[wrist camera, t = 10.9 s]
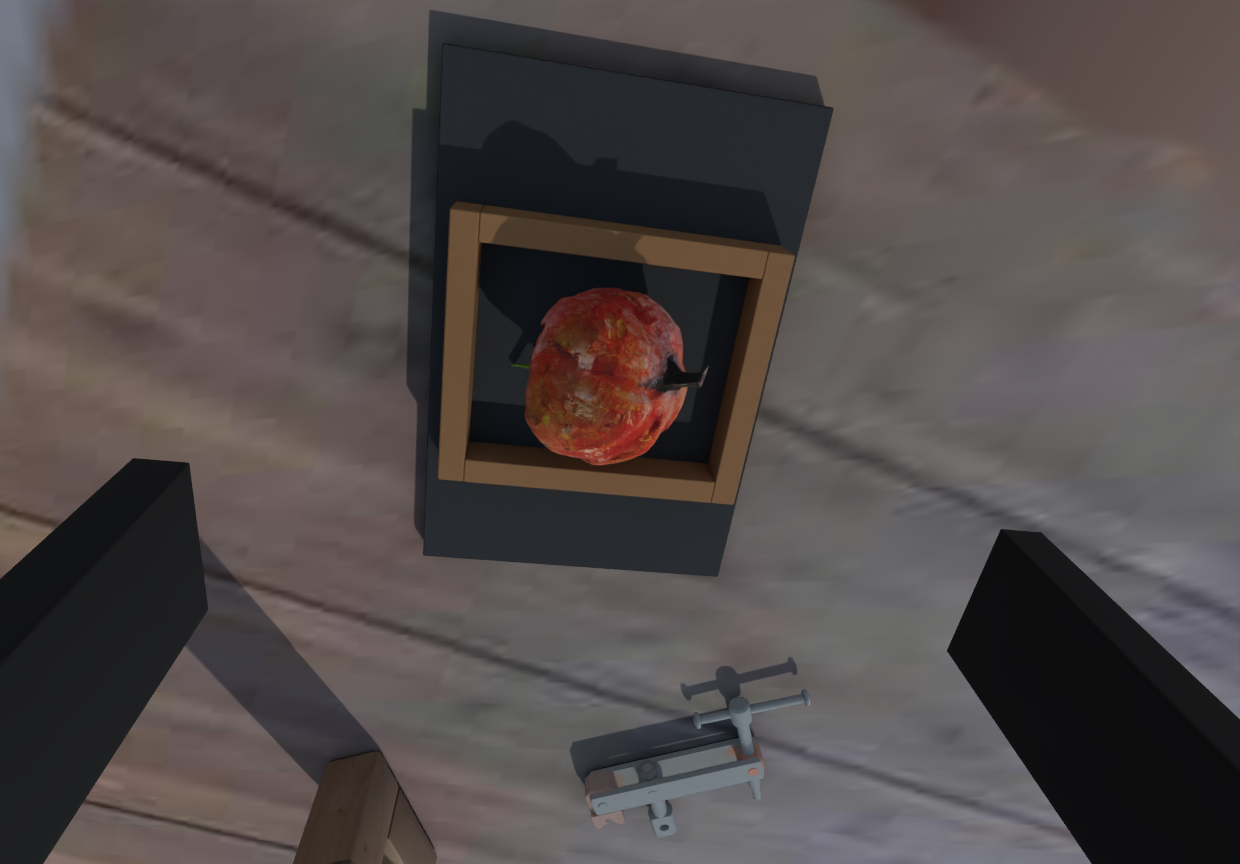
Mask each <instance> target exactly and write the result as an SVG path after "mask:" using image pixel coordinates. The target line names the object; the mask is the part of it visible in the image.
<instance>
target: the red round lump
mask: <svg viewBox="0 0 1240 864" xmlns="http://www.w3.org/2000/svg"><path fill="white" fill-rule="evenodd" d="M541 326H542V328H543V331H542V332H541V334H540V336H539V337H538V339H537V342H536V346H535V348H534V350H533V352H532V357H531V361H530V364H516V363H514V364H511V366H515V367H523V368H527V369H530V371H529V379H528V381H527V384H528V385H527V388H526V394H525V400H526V409H525V413H524V415H525V419H526V421H527V423H528V425H529V426H530V428H531V430H532V431H533V433H534V435H535V436H537V438H538V439H539V440H540V442H541V443H542V444H544V445H545V446H546V447H547V448H548V449H550V450H551V451H552V452H555V453H558V454H561V455H566V456H570V457H576V458H581V459H582V460H584V461H585V462H588V463H590V464H592V465H606V464H615V463H619V462H622V461H626V460H630V459H633V458H635V457H637V456H640V455H642V454H644V453H645V452H647V451H648V450H649V449H650V448H651V447H652V446H653V444H654V443H655V441H656V440H657V438H658V436H659V435H660V433H662V432H663V431H665V430H666V429H668V428H669V426H670V425H671V424H672V422H673V421H674V420H675V419H676V417H677V415H678V413H679V411H680V409H681V407H682V405H683V402H684V399H685V396H686V392H687V387H697V388H700V387H701V385H702V384H703V381H704V378H705V376H706V373H707V370H708V367H709V366H707V367H706V368H705V369H704V370H703V371H702V372H696V373H687V372H685V368H684V366H683V363H682V360H683V341H682V336H681V331H680V328H679V326H678V325H677V324H675V322H674V321H673V319H672V318H671V316H670V315H669V314H668V312H666V311H665V310H664V309H663V308H662V307H661V306H660V305H659V304H658V303H657V302H655V301H654V300H653V299H651V298H650V297H648V296H647V295H645V294H641V293H638V292H631V291H625V290H621V289H619V288H594V289H591V290H588V291H585V292H582V293H578V294H577V295H576V296H571V297H564V298H561V299H560V300H559V301H558V302H557V303H556V304H555V305H553V306H552V307H551V308H550V309H549V311H548V312H547V313H546V315H545V317H544V318H543V319H542V322H541Z"/></svg>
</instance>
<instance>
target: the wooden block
mask: <svg viewBox="0 0 1240 864" xmlns="http://www.w3.org/2000/svg"><path fill="white" fill-rule="evenodd" d="M436 857H437V856H436V853H435V851H434V849H433V847H432V846H431V844H430V842H429V840H428V838H427V837H426V835H425V833H424V831H423V829H422V828H421V826H420V824H419V822H418V820H417V819H416V817H415V815H414V813H413V811H412V810H411V808H410V806H409V804H408V802H407V801H406V799H405V797H404V795H403V793H402V792H401V790H398V784H397V782H396V780H395V778H394V776H393V775H392V773H391V771H390V769H389V767H388V766H387V764H386V762H385V760H384V758H383V757H382V755H381V753H380V752H377V751H374V752H370V753H366V754H362V755H357V756H353V757H349V758H345V759H340V760H336V761H332V762H330V763H328V764H327V765H326V767H325V770H324V773H323V776H322V779H321V782H320V785H319V788H318V791H317V794H316V797H315V800H314V803H313V805H312V808H311V811H310V814H309V817H308V820H307V823H306V826H305V829H304V832H303V835H302V838H301V841H300V844H299V847H298V850H297V853H296V856H295V859H294V862H293V864H436Z"/></svg>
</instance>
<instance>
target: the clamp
mask: <svg viewBox="0 0 1240 864" xmlns="http://www.w3.org/2000/svg"><path fill="white" fill-rule="evenodd" d="M801 693H802V694H799V695H794V696H789V697H785V698H780V699H775V700H770V701H766V702H761V703H756V704H752V705H749V702H748V700H747V699H745V698H743V697H736V698H733V699H732V700H731V701H730V702H729V704H728V708H729V709H728V710H723V711H719V712H714V713H709V714H704V715H700V716H699V714H698V713H697V712H695V713H694V718H693V720H694V725H696V728H697V729H700V728H701V724H706V723H711V722H715V721H720V720H725V719H729V718H731V722H732V724H733V725H734V726H736V727H737V730H738V735H739V738H736V739H731V740H727V741H722V742H718V743H713V744H709V745H705V746H700V747H696V748H691V749H687V750H683V751H678V752H674V753H669V754H665V755H661V756H656V757H652V758H647V759H643V760H638V761H634V762H630V763H625V764H621V765H616V766H612V767H608V768H603V769H599V770H594V771H591V774H589V775H588V776H587V777H586V778H585V796H586V800H587V802H588V805H589V808H590V811H591V817H592V820H593V823H594V826H595V828H598V829H602V827H603V826H604V825H605V824H606V823H607V819H611V821H612V822H614V823H617V824H620V825H621V824H622V823H623V822H624V821H625V820H624V809H629V808H633V807H638V806H642V805H646V804H651V807H650V808H649V811H648V814H649V818H650V821H651V824H652V827H653V831H654V834H655V835H656V837H667V836H670V835H673V834H675V833H676V832H677V823H676V820H675V816H674V813H673V809H672V806H671V804H670V803H665V800H669V799H673V798H678V797H682V796H686V795H691V794H695V793H700V792H704V791H709V790H713V789H717V788H722V787H726V786H731V785H735V784H740V783H744V782H748V783H749V786H750V787H751V789H752V793H753V798H754V799H755V800H760V799H761V793H760V784H761V783H760V779H762V778H764V766H765V764H764V761H763V757H762V754H761V751H760V748H759V745H758V744H757V743H756V742H755V740H754V737H753V736H752V735H751V732H750V727H749V725H750V724H751V722H752V715H751V714H753V713H758V712H763V711H767V710H772V709H777V708H782V707H786V706H791V705H796V704H800V703H804V704H805V705H806V706H809V705H810V696H809V694H808V692H807V691H806V690H805V689H803V690H802V692H801ZM736 760H737V761H736ZM732 761H736V762H732ZM728 762H732V763H728ZM723 763H727V764H723ZM719 764H723V765H719ZM714 765H719V766H714ZM710 766H714V767H710ZM705 767H710V768H705ZM701 768H705V769H701ZM697 769H701V770H697ZM692 770H696V771H692ZM688 771H692V772H688ZM683 772H688V773H683ZM679 773H683V774H679ZM674 774H679V775H674ZM670 775H674V776H670ZM666 776H670V777H666ZM663 777H665V778H663ZM635 783H639V784H635ZM630 784H634V785H630ZM626 785H630V786H626ZM621 786H626V787H621ZM620 787H621V788H620Z"/></svg>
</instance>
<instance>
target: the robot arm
mask: <svg viewBox="0 0 1240 864" xmlns="http://www.w3.org/2000/svg"><path fill="white" fill-rule="evenodd" d="M207 610H208V604H207V596H206V588H205V581H204V573H203V566H202V558H201V550H200V543H199V535H198V527H197V520H196V512H195V504H194V497H193V489H192V481H191V474H190V466H189V463H185V462H173V461H161V460H149V459H136V458H133V459H132V460H131V461H130V462H129V463H127V464H126V465H125V466H124V467H123V468H122V469H121V470H120V471H119V472H118V473H116V474H115V475H114V476H113V477H112V478H111V479H110V480H109V481H108V482H107V483H105V484H104V485H103V486H102V487H101V488H100V489H99V490H98V491H97V492H96V493H94V494H93V495H92V496H91V497H90V498H89V499H88V500H87V501H86V502H85V503H83V504H82V505H81V506H80V507H79V508H78V509H77V510H76V511H75V512H74V513H72V514H71V515H70V516H69V517H68V518H67V519H66V520H65V521H64V522H63V523H61V524H60V525H59V526H58V527H57V528H56V529H55V530H54V531H53V532H52V533H50V534H49V535H48V536H47V537H46V538H45V539H44V540H43V541H42V542H41V543H39V544H38V545H37V546H36V547H35V548H34V549H33V550H32V551H31V552H30V553H28V554H27V555H26V556H25V557H24V558H23V559H22V560H21V561H20V562H19V563H17V564H16V565H15V566H14V567H13V568H12V569H11V570H10V571H9V572H8V573H6V574H5V575H4V576H3V577H2V578H1V579H0V864H43V863H44V862H45V860H46V859H47V857H48V855H49V854H50V852H51V851H52V849H53V848H54V846H55V845H56V843H57V842H58V840H59V838H60V837H61V835H62V834H63V832H64V831H65V829H66V828H67V826H68V825H69V823H70V822H71V820H72V818H73V817H74V815H75V814H76V812H77V811H78V809H79V808H80V806H81V805H82V803H83V801H84V800H85V798H86V797H87V795H88V794H89V792H90V791H91V789H92V788H93V786H94V785H95V783H96V781H97V780H98V778H99V777H100V775H101V774H102V772H103V771H104V769H105V768H106V766H107V765H108V763H109V761H110V760H111V758H112V757H113V755H114V754H115V752H116V751H117V749H118V748H119V746H120V744H121V743H122V741H123V740H124V738H125V737H126V735H127V734H128V732H129V731H130V729H131V728H132V726H133V724H134V723H135V721H136V720H137V718H138V717H139V715H140V714H141V712H142V711H143V709H144V707H145V706H146V704H147V703H148V701H149V700H150V698H151V697H152V695H153V694H154V692H155V691H156V689H157V687H158V686H159V684H160V683H161V681H162V680H163V678H164V677H165V675H166V674H167V672H168V670H169V669H170V667H171V666H172V664H173V663H174V661H175V660H176V658H177V657H178V655H179V654H180V652H181V650H182V649H183V647H184V646H185V644H186V643H187V641H188V640H189V638H190V637H191V635H192V634H193V632H194V630H195V629H196V627H197V626H198V624H199V623H200V621H201V620H202V618H203V617H204V615H205V613H206V612H207ZM947 652H948V653H949V655H950V656H951V658H952V659H953V660H954V662H955V663H956V665H957V666H958V668H959V669H960V671H961V672H962V674H963V675H964V677H965V678H966V680H967V681H968V683H969V684H970V685H971V687H972V688H973V690H974V691H975V693H976V694H977V696H978V697H979V699H980V700H981V702H982V703H983V705H984V706H985V708H986V709H987V710H988V712H989V713H990V715H991V716H992V718H993V719H994V721H995V722H996V724H997V725H998V727H999V728H1000V730H1001V731H1002V733H1003V734H1004V735H1005V737H1006V738H1007V740H1008V741H1009V743H1010V744H1011V746H1012V747H1013V749H1014V750H1015V752H1016V753H1017V755H1018V756H1019V758H1020V759H1021V760H1022V762H1023V763H1024V765H1025V766H1026V768H1027V769H1028V771H1029V772H1030V774H1031V775H1032V777H1033V778H1034V780H1035V781H1036V783H1037V784H1038V785H1039V787H1040V788H1041V790H1042V791H1043V793H1044V794H1045V796H1046V797H1047V799H1048V800H1049V802H1050V803H1051V805H1052V806H1053V808H1054V809H1055V810H1056V812H1057V813H1058V815H1059V816H1060V818H1061V819H1062V821H1063V822H1064V824H1065V825H1066V827H1067V828H1068V830H1069V831H1070V832H1071V834H1072V835H1073V837H1074V838H1075V840H1076V841H1077V843H1078V844H1079V846H1080V847H1081V849H1082V850H1083V852H1084V853H1085V855H1086V856H1087V857H1088V859H1089V860H1090V862H1091V863H1092V864H1240V719H1239V718H1238V717H1237V716H1236V715H1234V714H1233V713H1232V712H1231V711H1230V710H1229V709H1228V708H1227V707H1226V706H1225V705H1224V704H1223V703H1222V702H1221V701H1220V700H1219V699H1217V698H1216V697H1215V696H1214V695H1213V694H1212V693H1211V692H1210V691H1209V690H1208V689H1207V688H1206V687H1205V686H1204V685H1203V684H1202V683H1200V682H1199V681H1198V680H1197V679H1196V678H1195V677H1194V676H1193V675H1192V674H1191V673H1190V672H1189V671H1188V670H1187V669H1186V668H1185V667H1184V666H1182V665H1181V664H1180V663H1179V662H1178V661H1177V660H1176V659H1175V658H1174V657H1173V656H1172V655H1171V654H1170V653H1169V652H1168V651H1167V650H1165V649H1164V648H1163V647H1162V646H1161V645H1160V644H1159V643H1158V642H1157V641H1156V640H1155V639H1154V638H1153V637H1152V636H1151V635H1150V634H1148V633H1147V632H1146V631H1145V630H1144V629H1143V628H1142V627H1141V626H1140V625H1139V624H1138V623H1137V622H1136V621H1135V620H1134V619H1133V618H1131V617H1130V616H1129V615H1128V614H1127V613H1126V612H1125V611H1124V610H1123V609H1122V608H1121V607H1120V606H1119V605H1118V604H1117V603H1116V602H1114V601H1113V600H1112V599H1111V598H1110V597H1109V596H1108V595H1107V594H1106V593H1105V592H1104V591H1103V590H1102V589H1101V588H1100V587H1099V586H1097V585H1096V584H1095V583H1094V582H1093V581H1092V580H1091V579H1090V578H1089V577H1088V576H1087V575H1086V574H1085V573H1084V572H1083V571H1082V570H1080V569H1079V568H1078V567H1077V566H1076V565H1075V564H1074V563H1073V562H1072V561H1071V560H1070V559H1069V558H1068V557H1067V556H1066V555H1065V554H1063V553H1062V552H1061V551H1060V550H1059V549H1058V548H1057V547H1056V546H1055V545H1054V544H1053V543H1052V542H1051V541H1050V540H1049V539H1048V538H1047V537H1045V536H1044V535H1043V534H1042V533H1041V532H1029V531H1017V530H1004V529H1001V530H1000V532H999V535H998V537H997V539H996V541H995V544H994V546H993V548H992V550H991V553H990V555H989V557H988V559H987V562H986V564H985V566H984V568H983V571H982V573H981V575H980V577H979V580H978V582H977V584H976V586H975V589H974V591H973V593H972V595H971V598H970V600H969V602H968V604H967V607H966V609H965V611H964V613H963V616H962V618H961V620H960V622H959V625H958V627H957V629H956V631H955V634H954V636H953V638H952V640H951V643H950V645H949V647H948V650H947Z"/></svg>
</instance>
